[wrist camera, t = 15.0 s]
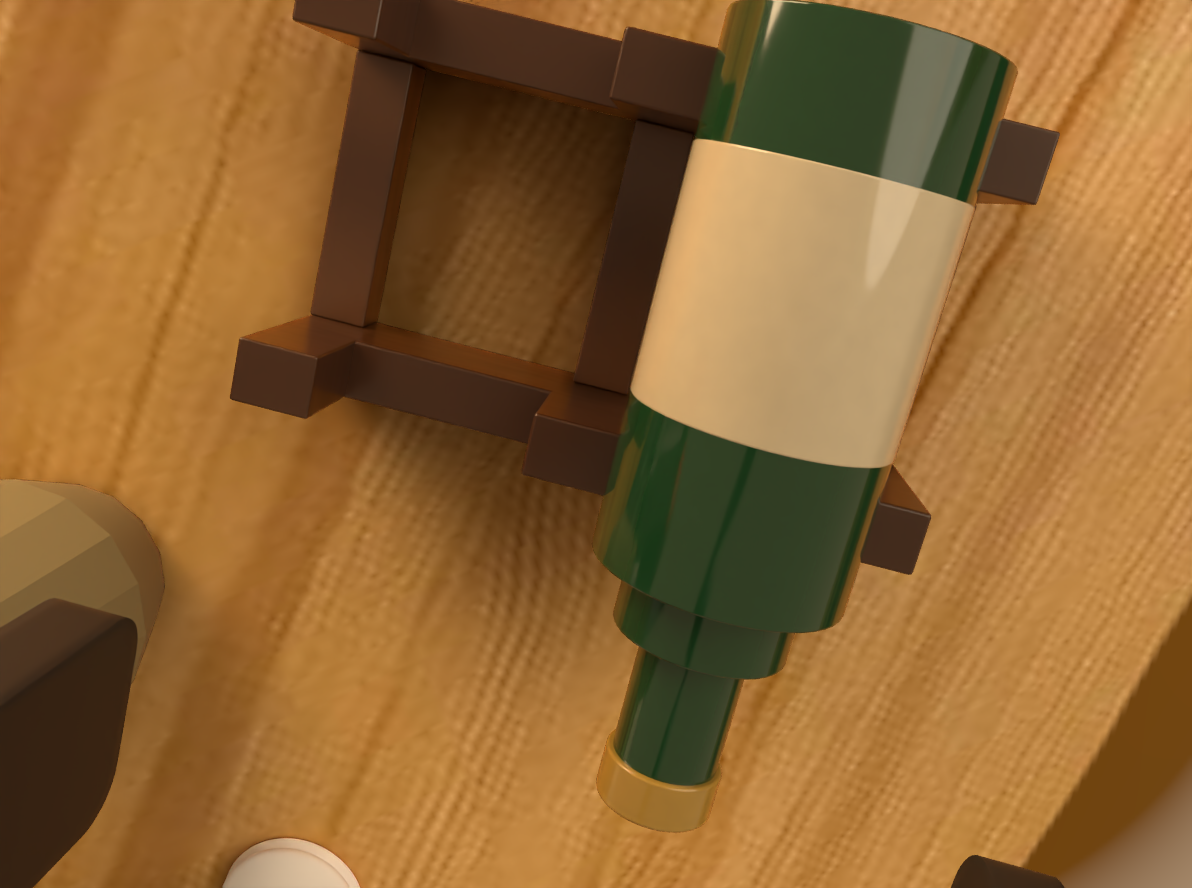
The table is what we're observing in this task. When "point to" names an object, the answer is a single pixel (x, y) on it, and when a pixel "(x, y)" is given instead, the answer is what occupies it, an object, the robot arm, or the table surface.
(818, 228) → the bottle
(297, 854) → the chess piece
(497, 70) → the rack
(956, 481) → the table surface
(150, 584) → the squeeze bottle
